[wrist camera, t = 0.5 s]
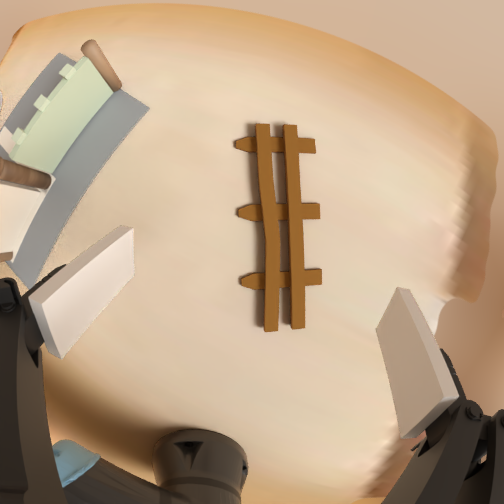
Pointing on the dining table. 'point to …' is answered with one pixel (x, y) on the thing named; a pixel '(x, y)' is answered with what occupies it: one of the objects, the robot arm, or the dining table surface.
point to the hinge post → (23, 175)
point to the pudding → (0, 100)
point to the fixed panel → (14, 214)
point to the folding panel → (65, 110)
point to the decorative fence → (270, 216)
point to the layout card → (64, 166)
